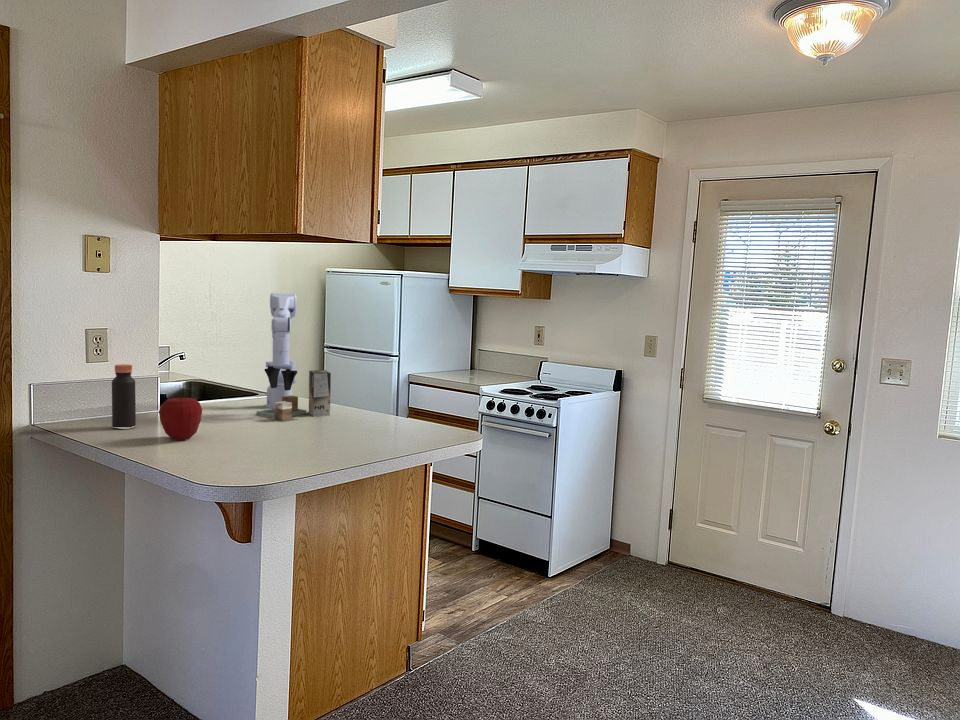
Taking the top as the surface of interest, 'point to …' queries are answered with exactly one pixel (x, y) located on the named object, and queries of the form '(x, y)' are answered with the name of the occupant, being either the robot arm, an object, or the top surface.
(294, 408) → the plain block
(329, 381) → the coffee box
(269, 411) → the tray
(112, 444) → the top surface
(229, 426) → the top surface
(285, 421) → the mat
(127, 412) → the bottle
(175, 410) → the apple
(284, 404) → the labelled block
